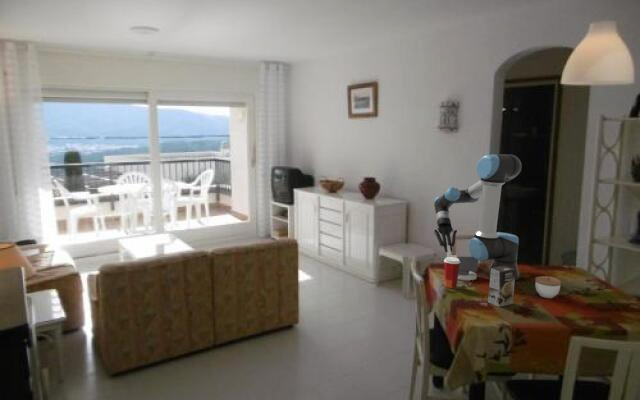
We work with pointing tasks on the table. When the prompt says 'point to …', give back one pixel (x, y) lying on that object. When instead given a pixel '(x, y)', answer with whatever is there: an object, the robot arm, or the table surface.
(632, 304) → the table surface
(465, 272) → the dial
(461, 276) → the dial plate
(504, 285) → the coffee box
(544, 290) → the white bowl
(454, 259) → the paper cup
